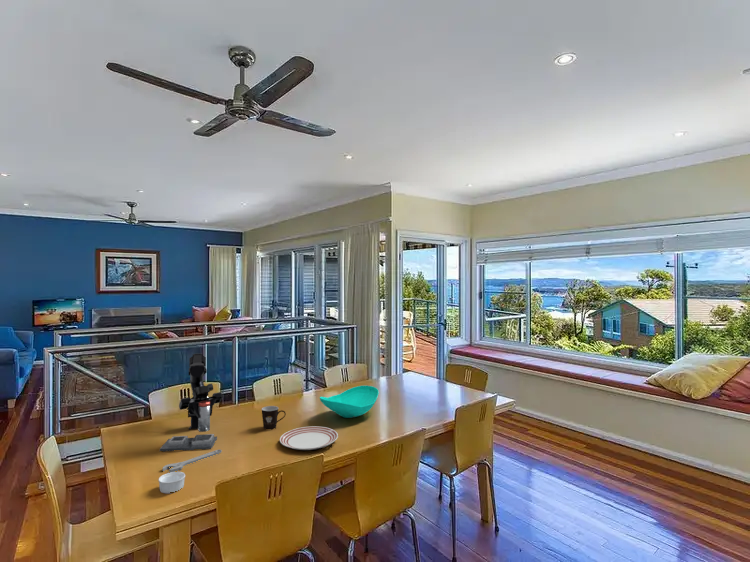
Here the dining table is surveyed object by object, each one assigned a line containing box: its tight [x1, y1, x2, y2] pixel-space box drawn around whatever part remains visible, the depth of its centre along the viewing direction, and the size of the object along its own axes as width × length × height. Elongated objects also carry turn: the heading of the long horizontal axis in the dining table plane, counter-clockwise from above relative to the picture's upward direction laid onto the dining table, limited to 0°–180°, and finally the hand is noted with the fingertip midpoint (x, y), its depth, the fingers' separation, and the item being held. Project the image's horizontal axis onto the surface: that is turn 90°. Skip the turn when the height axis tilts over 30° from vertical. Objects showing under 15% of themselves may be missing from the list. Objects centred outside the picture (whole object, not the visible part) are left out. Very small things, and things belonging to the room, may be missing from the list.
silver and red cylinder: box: [197, 401, 211, 433], centre depth 192 cm, size 5×5×13 cm
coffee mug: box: [261, 405, 286, 430], centre depth 214 cm, size 12×9×10 cm
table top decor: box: [319, 385, 380, 419], centre depth 235 cm, size 40×28×13 cm
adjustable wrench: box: [162, 449, 223, 473], centre depth 173 cm, size 25×6×2 cm, turn 138°
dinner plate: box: [279, 425, 339, 451], centre depth 195 cm, size 27×27×3 cm
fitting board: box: [159, 433, 218, 452], centre depth 191 cm, size 12×22×3 cm, turn 99°
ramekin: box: [158, 471, 186, 494], centre depth 151 cm, size 9×9×4 cm
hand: (205, 416), depth 191 cm, fingers closed on silver and red cylinder, 5 cm apart
